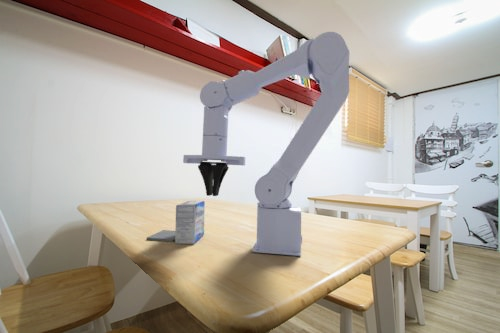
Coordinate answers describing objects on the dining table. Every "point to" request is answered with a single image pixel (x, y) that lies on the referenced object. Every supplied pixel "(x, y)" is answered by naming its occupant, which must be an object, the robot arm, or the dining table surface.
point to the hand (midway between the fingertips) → (212, 195)
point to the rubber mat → (163, 236)
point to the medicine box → (189, 222)
